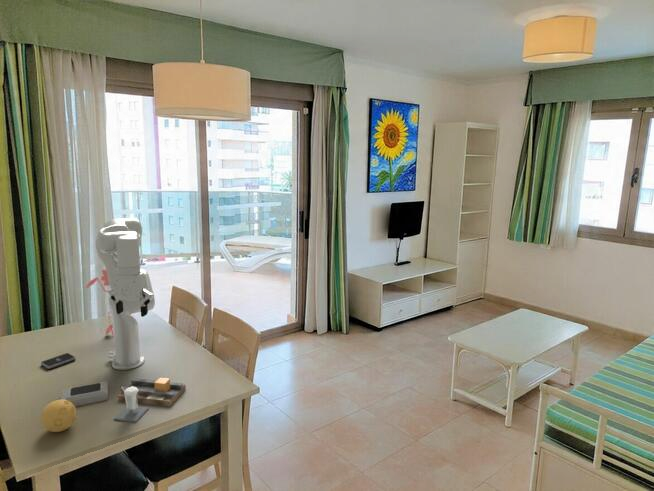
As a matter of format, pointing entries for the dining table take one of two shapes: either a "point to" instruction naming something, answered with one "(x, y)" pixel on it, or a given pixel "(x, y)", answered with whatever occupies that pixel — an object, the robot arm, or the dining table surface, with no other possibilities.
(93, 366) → the dining table surface
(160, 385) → the switch tab
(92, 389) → the grey electronic device
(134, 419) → the mat
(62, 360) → the external hard drive
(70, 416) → the stress ball
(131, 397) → the milkshake
